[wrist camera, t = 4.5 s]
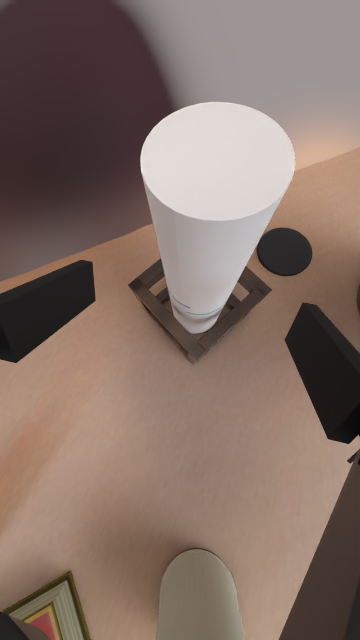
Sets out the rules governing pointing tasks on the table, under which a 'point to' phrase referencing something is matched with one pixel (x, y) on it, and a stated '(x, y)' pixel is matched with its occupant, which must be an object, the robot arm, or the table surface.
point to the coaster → (284, 251)
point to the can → (198, 600)
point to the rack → (176, 330)
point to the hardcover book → (54, 610)
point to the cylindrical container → (212, 199)
